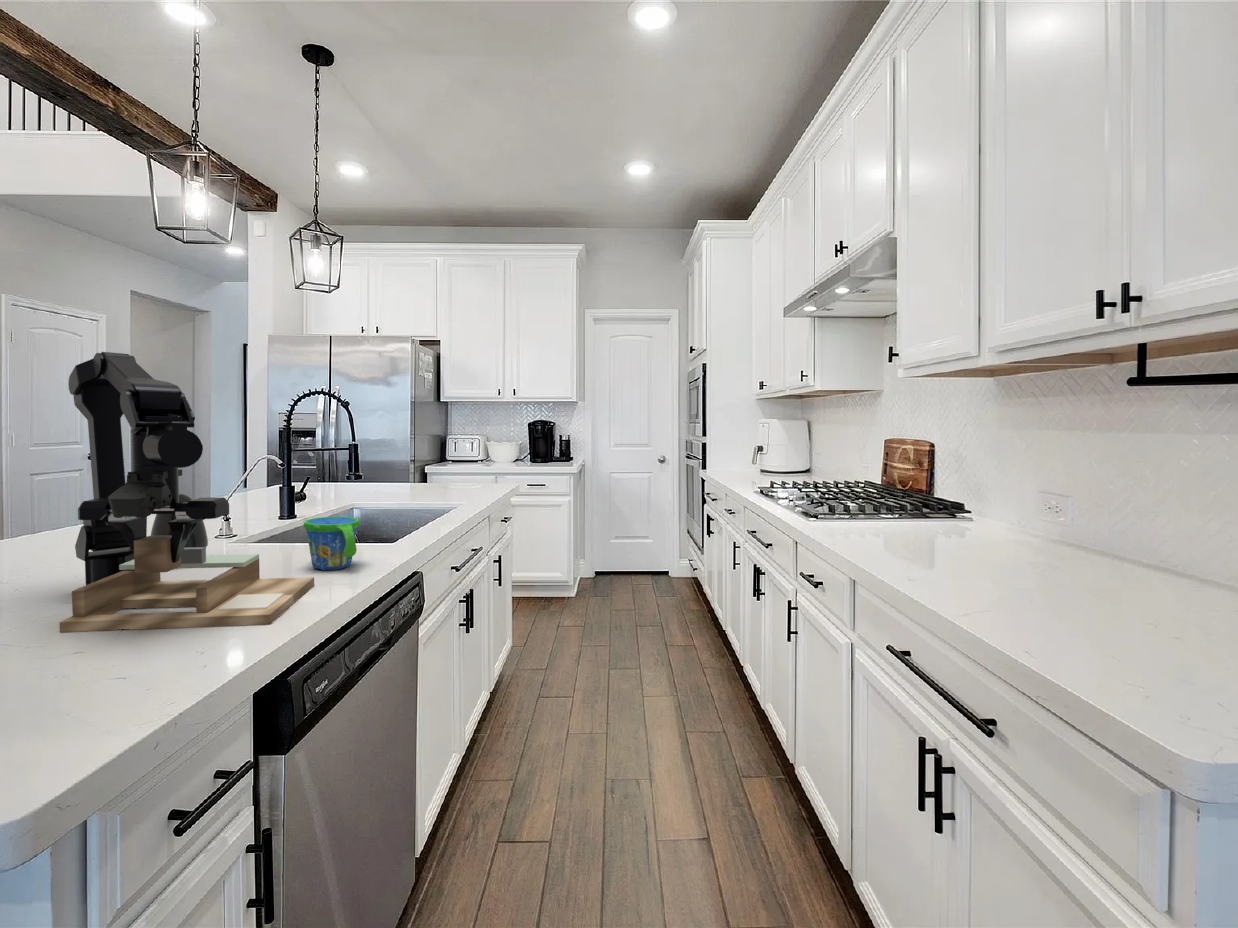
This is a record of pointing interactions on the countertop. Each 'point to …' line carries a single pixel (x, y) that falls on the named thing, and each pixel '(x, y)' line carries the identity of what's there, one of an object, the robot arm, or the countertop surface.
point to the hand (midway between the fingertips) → (158, 562)
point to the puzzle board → (178, 600)
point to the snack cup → (331, 541)
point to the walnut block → (154, 554)
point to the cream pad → (251, 602)
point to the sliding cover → (205, 560)
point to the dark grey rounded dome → (163, 529)
